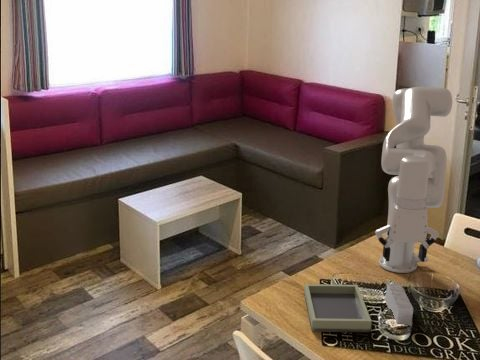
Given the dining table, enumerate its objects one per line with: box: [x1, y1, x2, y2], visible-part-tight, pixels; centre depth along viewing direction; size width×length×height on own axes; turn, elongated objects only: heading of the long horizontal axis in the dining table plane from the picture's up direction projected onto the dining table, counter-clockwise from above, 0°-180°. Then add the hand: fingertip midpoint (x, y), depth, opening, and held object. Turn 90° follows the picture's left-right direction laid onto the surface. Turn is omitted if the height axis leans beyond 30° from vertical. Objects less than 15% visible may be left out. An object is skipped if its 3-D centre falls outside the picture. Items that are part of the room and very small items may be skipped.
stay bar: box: [384, 283, 414, 326], centre depth 164 cm, size 4×14×6 cm, turn 179°
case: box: [303, 283, 372, 333], centre depth 165 cm, size 16×20×4 cm
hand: (403, 259), depth 159 cm, fingers open, 9 cm apart
